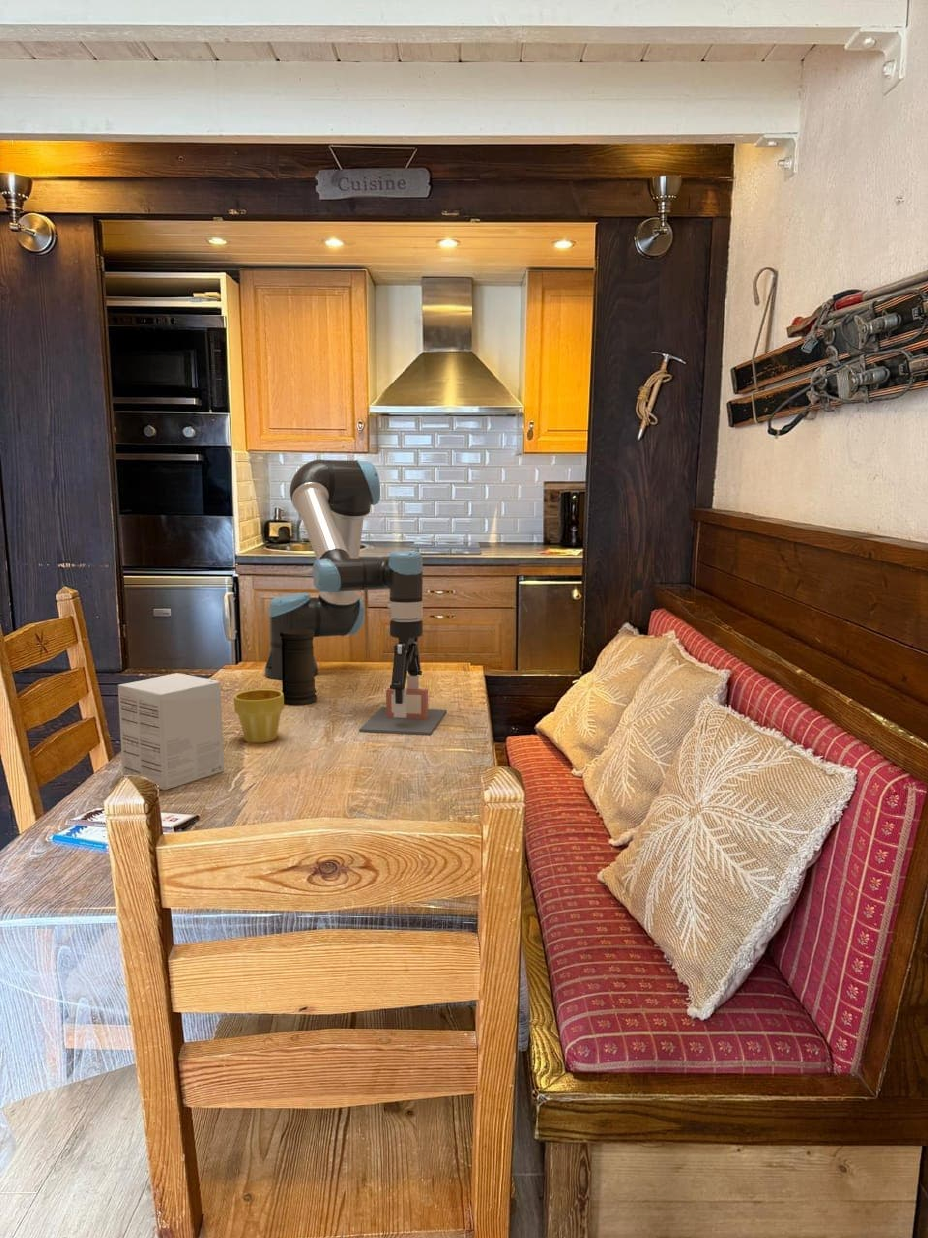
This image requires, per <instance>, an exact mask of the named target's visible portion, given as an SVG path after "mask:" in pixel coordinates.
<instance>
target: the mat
mask: <svg viewBox="0 0 928 1238" xmlns="http://www.w3.org/2000/svg"><path fill="white" fill-rule="evenodd" d="M447 712H448V711H447V709H440V708H439V709H434V708H428V718H427V719H412V718H391V717H386V706H381V707H380V708H379V709H378V710H377V712H375V713H374V714H373V715H372V716H371V717H370V718H368V720H367V721H366V722H365V723H364V724H363V725H362V726H361V727H360V728H359V733H375V734H376V733H377V734H397V735H398V734H399V735H417V736H431V735H432V734H433V733H434V731H435V730H436V728H437V727H438V725H439V724H440V723H441V721H442V719H443V718H444V717H445V715H446V714H447Z"/></svg>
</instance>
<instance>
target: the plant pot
mask: <svg viewBox="0 0 928 1238" xmlns="http://www.w3.org/2000/svg"><path fill="white" fill-rule="evenodd" d="M233 707H234V712H235V713H236V714H237V715H238V718H239V723H240V726H241V729H242V734H243V737H244V740H245V742H247V743H251V744H260V743H268V742H272V741H275V740H276V739H277V737H278V734H279V733H278V730H279V725H280V719H281V713H282V711H283V710H284V709H285V708H284V707H285V704H284V694H283V692H282V690H278V689H271V688H260V689H259V688H258V689H256V688H255V689H250V690H245V691H241V692H238V693H235V695H233Z"/></svg>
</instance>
